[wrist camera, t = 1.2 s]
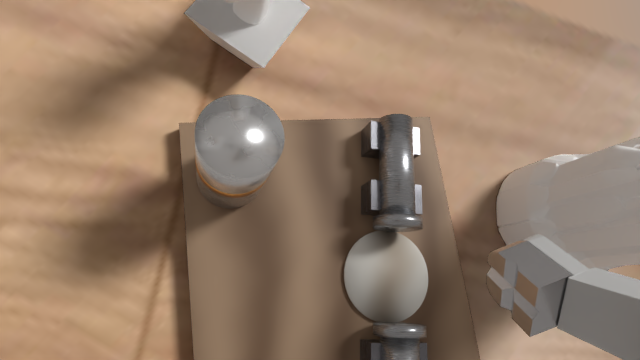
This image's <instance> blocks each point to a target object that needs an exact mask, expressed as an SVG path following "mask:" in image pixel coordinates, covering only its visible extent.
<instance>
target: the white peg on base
mask: <svg viewBox="0 0 640 360" xmlns="http://www.w3.org/2000/svg"><path fill="white" fill-rule="evenodd" d="M309 9H310V7H309V6H307V5H306V4H305V3H303V2H302V1H300V0H196V1H195V2H194V3H193V4H192V5H191V6H190V7H189V8H188V9H187V10H186V11H185V12H184V14H185V15H186V16H187V17H188V18H190V19H191V20H192V21H193V22H194V23H195V24H196V25H197V26H198V27H199V28H200V29H201V30H202V31H203V32H204V33H205V34H206V35H207V36H208V37H209V38H210V39H211V40H213V41H214V42H216V43H217V44H219V45H220V46H222V47H223V48H225V49H226V50H228V51H229V52H231V53H232V54H233V55H235V56H236V57H238V58H239V59H241V60H242V61H244V62H245V63H247V64H248V65H250V66H251V67H253V68H264V67H265V66H266V65H267V63H268V62H269V61H270V59H271V58H272V57H273V55H274V54H275V53H276V52H277V50H278V49H279V48H280V46H281V45H282V44H283V42H284V41H285V40H286V39H287V37H288V36H289V35H290V33H291V32H292V31H293V29H294V28H295V27H296V25H297V24H298V23H299V22H300V20H301V19H302V18H303V16H304V15H305V14H306V12H307V11H308V10H309Z"/></svg>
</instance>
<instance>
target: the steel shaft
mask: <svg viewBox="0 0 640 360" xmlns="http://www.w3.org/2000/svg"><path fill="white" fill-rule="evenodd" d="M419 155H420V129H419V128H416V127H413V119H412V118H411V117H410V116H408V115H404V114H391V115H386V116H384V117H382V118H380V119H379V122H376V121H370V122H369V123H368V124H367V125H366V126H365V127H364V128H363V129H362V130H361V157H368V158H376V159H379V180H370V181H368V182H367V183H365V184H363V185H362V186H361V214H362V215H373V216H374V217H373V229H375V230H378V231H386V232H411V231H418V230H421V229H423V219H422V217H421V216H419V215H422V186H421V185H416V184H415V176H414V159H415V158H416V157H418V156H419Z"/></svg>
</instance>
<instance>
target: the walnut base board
mask: <svg viewBox="0 0 640 360" xmlns="http://www.w3.org/2000/svg"><path fill="white" fill-rule="evenodd" d="M411 118H412V119H413V127H416V128H419V129H420V155H419V156H418V157H416V158H415V159H414V176H415V184H416V185H421V186H422V215H419V216H421V217H422V219H423V229H421V230H418V231H411V232H386V231H378V230H375V229H373V217H374V216H373V215H362V214H361V186H362V185H363V184H365V183H367V182H368V181H370V180H379V159H376V158H368V157H361V130H362V129H363V128H364V127H365V126H366V125H367V124H368V123H369V122H370V121H376V122H379V119H380V118H367V119H324V120H282V121H281V123H282V126H283V129H284V136H285V141H284V148H283V151H282V154H281V156H280V158H279V159H278V161H277V163H276V165H275V166H274V168H273V170H272V171H271V173H270V175H269V177H268V179H267V180H266V182H265V183H264V185H263V187H262V188H261V190H260V192H259V194H258V195H257V196H256V198H255V199H254V200H253V201H251V202H250V203H248V204H247V205H245V206H242V207H239V208H233V209H228V208H222V207H218V206H216V205H214V204H212V203H211V202H209V201H208V200H207V199H206V198H205V197H204V196H203V195H202V193H201V192H200V190H199V187H198V184H197V177H196V163H195V125H196V123H179V131H180V147H181V163H182V179H183V195H184V211H185V227H186V243H187V259H188V275H189V291H190V307H191V323H192V339H193V355H194V360H360V339H380V336H376V335H373V322H403V323H416V324H424V325H426V334H427V337H426V338H419V340H420V341H421V342H425V343H427V357H428V360H480V356H479V351H478V346H477V341H476V336H475V332H474V327H473V322H472V317H471V312H470V308H469V303H468V298H467V293H466V288H465V284H464V279H463V274H462V269H461V264H460V260H459V255H458V250H457V245H456V241H455V236H454V231H453V226H452V221H451V217H450V212H449V207H448V202H447V197H446V193H445V188H444V183H443V178H442V173H441V169H440V164H439V159H438V154H437V149H436V145H435V140H434V135H433V130H432V125H431V121H430V117H411Z"/></svg>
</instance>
